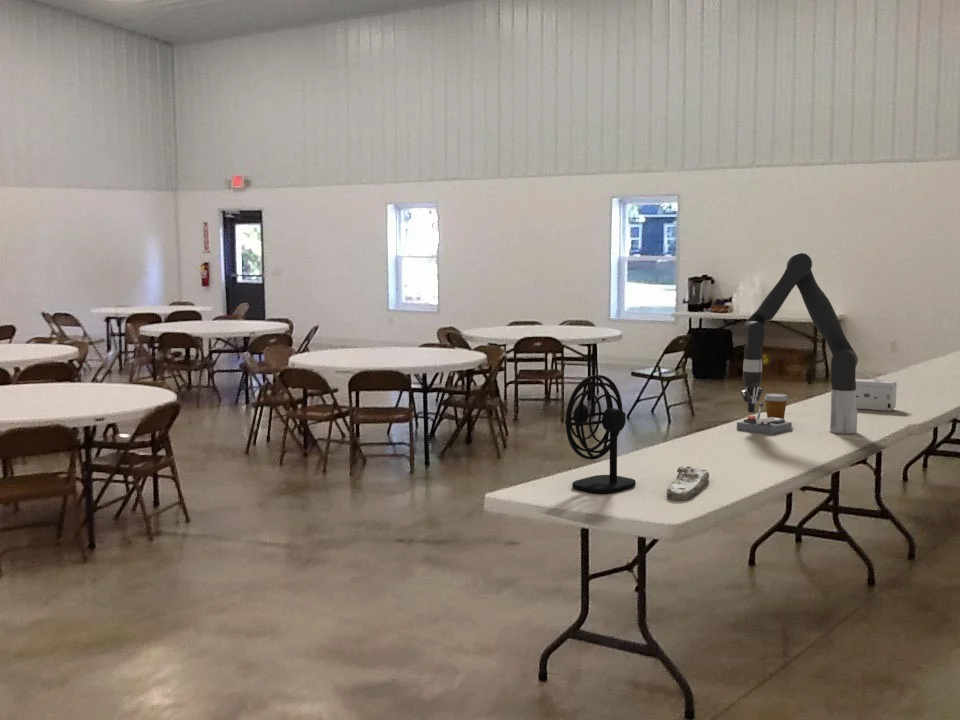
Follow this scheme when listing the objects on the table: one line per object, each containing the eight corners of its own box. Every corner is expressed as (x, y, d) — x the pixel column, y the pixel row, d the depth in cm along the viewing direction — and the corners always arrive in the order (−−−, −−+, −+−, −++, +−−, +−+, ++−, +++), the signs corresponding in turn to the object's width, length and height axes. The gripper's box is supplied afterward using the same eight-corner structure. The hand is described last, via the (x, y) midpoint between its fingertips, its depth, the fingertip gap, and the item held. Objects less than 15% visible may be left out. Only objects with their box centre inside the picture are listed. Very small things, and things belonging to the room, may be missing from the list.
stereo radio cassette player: (896, 409, 462) (897, 365, 460) (892, 412, 455) (894, 367, 453) (848, 406, 473) (849, 363, 471) (844, 408, 466) (845, 365, 464)
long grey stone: (658, 504, 304) (691, 509, 300) (659, 487, 303) (692, 492, 299) (683, 473, 336) (714, 477, 332) (684, 458, 335) (715, 462, 331)
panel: (791, 429, 414) (791, 419, 414) (771, 434, 404) (771, 423, 404) (756, 424, 426) (757, 414, 426) (736, 429, 416) (736, 418, 415)
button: (756, 418, 416) (756, 416, 415) (752, 419, 413) (752, 416, 413) (750, 418, 418) (750, 415, 418) (746, 419, 416) (746, 416, 416)
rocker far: (774, 420, 409) (773, 416, 409) (769, 421, 406) (769, 418, 406) (761, 422, 413) (761, 418, 413) (756, 423, 411) (756, 419, 411)
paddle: (782, 421, 415) (782, 418, 415) (777, 422, 412) (777, 419, 412) (773, 420, 418) (773, 417, 418) (768, 421, 415) (768, 418, 415)
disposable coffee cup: (789, 424, 426) (790, 396, 424) (767, 425, 426) (767, 396, 424) (783, 421, 435) (784, 393, 434) (761, 421, 435) (761, 393, 434)
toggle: (760, 419, 423) (764, 403, 423) (758, 418, 422) (762, 402, 422) (757, 418, 424) (760, 403, 425) (755, 418, 423) (758, 402, 424)
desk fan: (607, 474, 337) (607, 369, 333) (650, 483, 324) (651, 374, 320) (552, 488, 318) (552, 377, 314) (596, 498, 306) (596, 382, 302)
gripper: (751, 372, 406) (750, 415, 408) (769, 369, 415) (768, 411, 417) (735, 370, 412) (734, 413, 414) (753, 367, 421) (752, 409, 423)
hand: (751, 412), depth 416 cm, fingers closed
